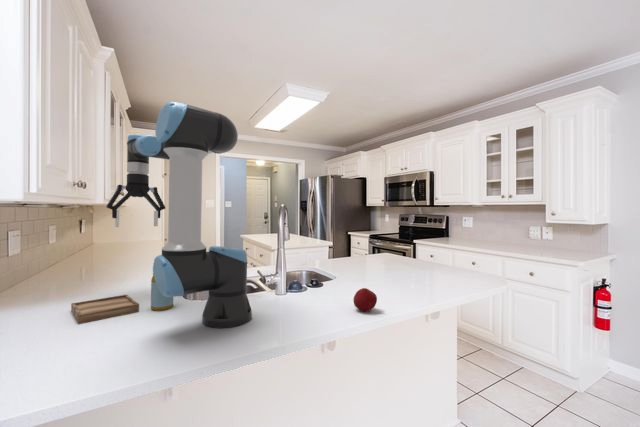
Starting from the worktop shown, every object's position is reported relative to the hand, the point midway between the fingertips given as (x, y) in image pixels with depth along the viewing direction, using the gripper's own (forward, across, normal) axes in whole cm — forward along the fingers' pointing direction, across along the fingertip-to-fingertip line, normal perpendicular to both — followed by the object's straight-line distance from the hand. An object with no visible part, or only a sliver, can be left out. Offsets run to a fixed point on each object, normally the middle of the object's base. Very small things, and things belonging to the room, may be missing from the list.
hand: (137, 226), depth 118 cm
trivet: (+28, +12, +14) cm, 34 cm away
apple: (+28, -53, +74) cm, 96 cm away
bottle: (+28, -2, +23) cm, 36 cm away
